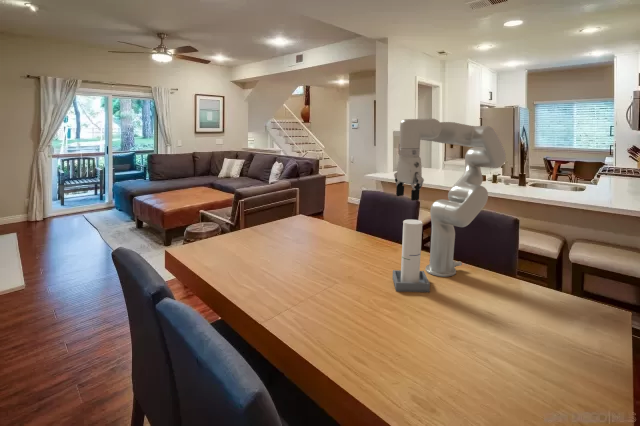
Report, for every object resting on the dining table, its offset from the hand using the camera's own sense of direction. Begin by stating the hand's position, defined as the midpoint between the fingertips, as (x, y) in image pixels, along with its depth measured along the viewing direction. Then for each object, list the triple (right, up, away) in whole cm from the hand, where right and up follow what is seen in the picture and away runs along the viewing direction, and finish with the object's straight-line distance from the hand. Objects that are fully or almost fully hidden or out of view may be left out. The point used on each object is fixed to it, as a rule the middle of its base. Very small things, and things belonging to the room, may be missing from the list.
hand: (407, 197), depth 139 cm
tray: (+2, -35, +5) cm, 35 cm away
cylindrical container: (+2, -34, +5) cm, 34 cm away
